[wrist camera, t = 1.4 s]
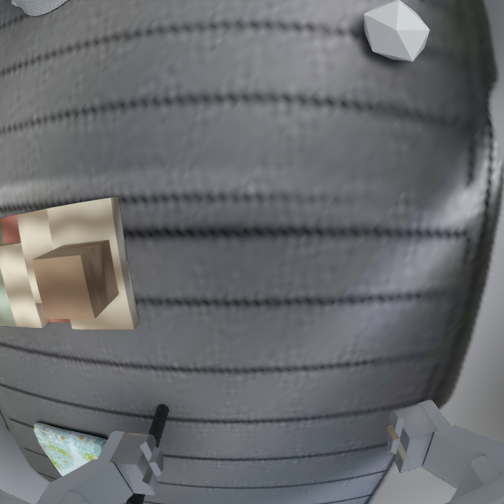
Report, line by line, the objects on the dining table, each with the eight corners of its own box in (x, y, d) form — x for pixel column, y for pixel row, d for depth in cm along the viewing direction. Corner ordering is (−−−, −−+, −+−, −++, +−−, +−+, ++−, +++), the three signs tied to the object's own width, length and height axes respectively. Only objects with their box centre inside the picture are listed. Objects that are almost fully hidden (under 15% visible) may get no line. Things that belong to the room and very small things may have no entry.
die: (363, 71, 34) (430, 73, 27) (337, 14, 29) (408, 5, 21) (386, 49, 36) (445, 50, 29) (364, -2, 30) (427, -8, 23)
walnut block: (64, 244, 36) (31, 259, 28) (109, 239, 36) (80, 255, 28) (74, 295, 37) (46, 318, 30) (119, 294, 37) (94, 319, 30)
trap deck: (-32, 226, 37) (-53, 232, 32) (118, 196, 37) (100, 200, 32) (-10, 318, 41) (-28, 330, 36) (139, 321, 41) (126, 340, 36)
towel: (75, 477, 52) (68, 491, 47) (37, 417, 47) (27, 432, 42) (141, 490, 52) (136, 507, 47) (108, 431, 47) (100, 449, 42)
